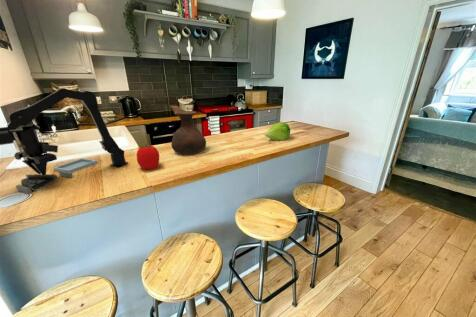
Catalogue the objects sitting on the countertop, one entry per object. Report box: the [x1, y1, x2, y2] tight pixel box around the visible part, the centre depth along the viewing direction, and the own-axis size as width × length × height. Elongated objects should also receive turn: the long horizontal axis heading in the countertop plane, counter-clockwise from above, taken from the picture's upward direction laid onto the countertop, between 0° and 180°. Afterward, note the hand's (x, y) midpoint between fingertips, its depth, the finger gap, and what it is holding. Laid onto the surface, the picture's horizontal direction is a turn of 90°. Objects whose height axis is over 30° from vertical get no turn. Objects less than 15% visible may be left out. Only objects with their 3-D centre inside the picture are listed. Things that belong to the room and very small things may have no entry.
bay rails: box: [15, 171, 74, 195], centre depth 92 cm, size 8×17×3 cm, turn 159°
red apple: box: [136, 143, 160, 170], centre depth 107 cm, size 12×12×13 cm
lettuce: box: [264, 121, 291, 142], centre depth 151 cm, size 15×22×15 cm, turn 115°
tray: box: [53, 157, 99, 174], centre depth 110 cm, size 12×15×2 cm
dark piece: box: [20, 173, 59, 192], centre depth 90 cm, size 10×7×12 cm
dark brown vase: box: [169, 105, 207, 156], centre depth 127 cm, size 22×22×30 cm
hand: (42, 174), depth 91 cm, fingers open, 3 cm apart
